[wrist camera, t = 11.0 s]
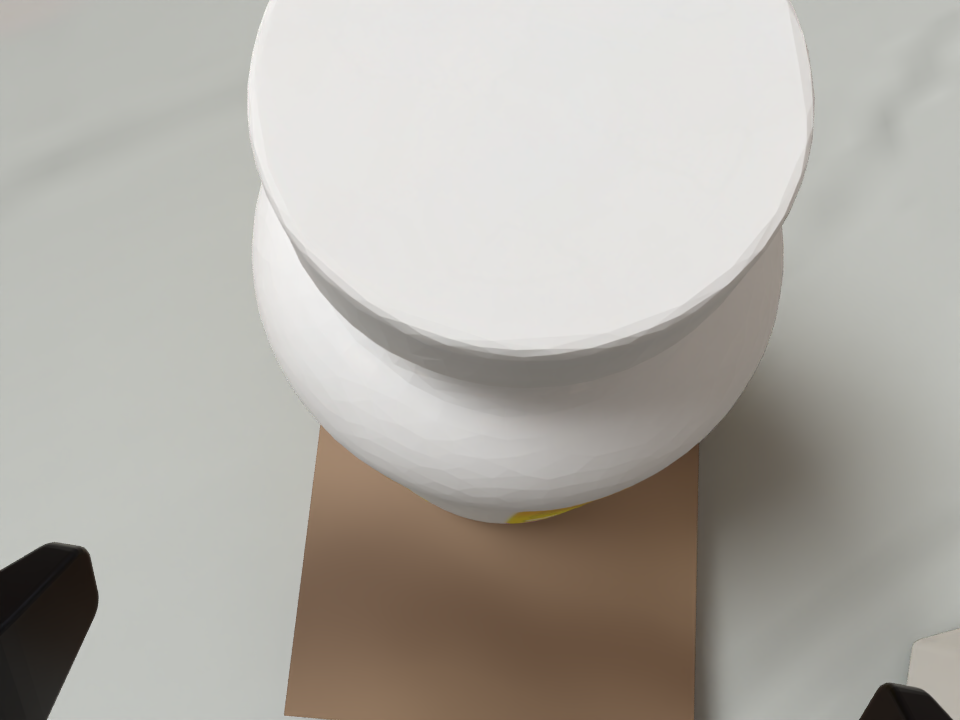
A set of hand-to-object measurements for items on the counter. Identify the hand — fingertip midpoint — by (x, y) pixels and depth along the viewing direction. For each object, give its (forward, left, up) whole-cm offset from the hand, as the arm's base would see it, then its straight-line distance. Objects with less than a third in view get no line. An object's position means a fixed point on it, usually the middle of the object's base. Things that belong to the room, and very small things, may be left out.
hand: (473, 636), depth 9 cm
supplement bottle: (+5, 0, -9) cm, 11 cm away
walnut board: (+5, 0, -11) cm, 12 cm away
